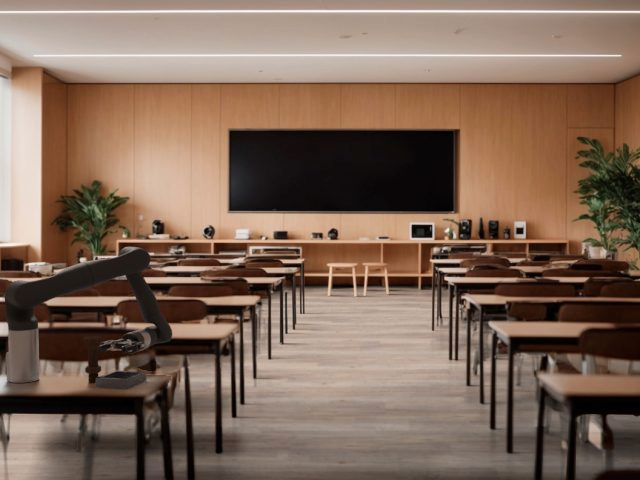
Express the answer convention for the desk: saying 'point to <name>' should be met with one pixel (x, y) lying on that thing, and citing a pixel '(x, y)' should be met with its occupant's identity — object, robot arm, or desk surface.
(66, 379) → the desk surface
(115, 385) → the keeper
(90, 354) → the bolt
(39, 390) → the desk surface
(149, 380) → the desk surface
